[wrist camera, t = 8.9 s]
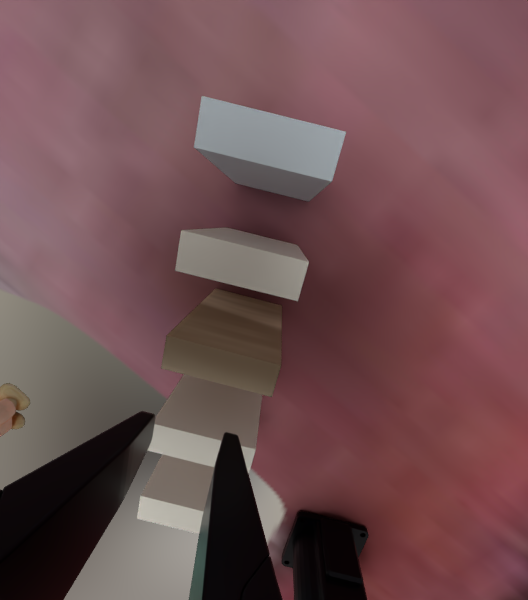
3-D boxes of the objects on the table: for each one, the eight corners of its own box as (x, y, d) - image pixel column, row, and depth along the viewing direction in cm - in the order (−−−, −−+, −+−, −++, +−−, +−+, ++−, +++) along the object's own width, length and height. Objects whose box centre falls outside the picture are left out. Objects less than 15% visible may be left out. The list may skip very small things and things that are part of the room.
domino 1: (309, 201, 19) (331, 181, 10) (235, 183, 19) (194, 147, 10) (315, 176, 18) (346, 131, 9) (240, 157, 18) (201, 96, 9)
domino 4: (261, 377, 22) (248, 475, 13) (200, 362, 22) (147, 450, 13) (266, 359, 22) (255, 449, 13) (204, 343, 22) (151, 423, 13)
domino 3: (276, 325, 21) (271, 397, 12) (211, 308, 21) (161, 368, 12) (282, 305, 21) (281, 365, 12) (215, 288, 20) (166, 335, 12)
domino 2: (291, 267, 20) (297, 301, 11) (222, 250, 20) (174, 270, 11) (297, 244, 19) (309, 262, 11) (226, 227, 19) (181, 230, 11)
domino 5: (249, 423, 23) (229, 541, 15) (191, 409, 23) (137, 518, 15) (253, 407, 23) (235, 519, 14) (194, 393, 23) (140, 495, 14)
